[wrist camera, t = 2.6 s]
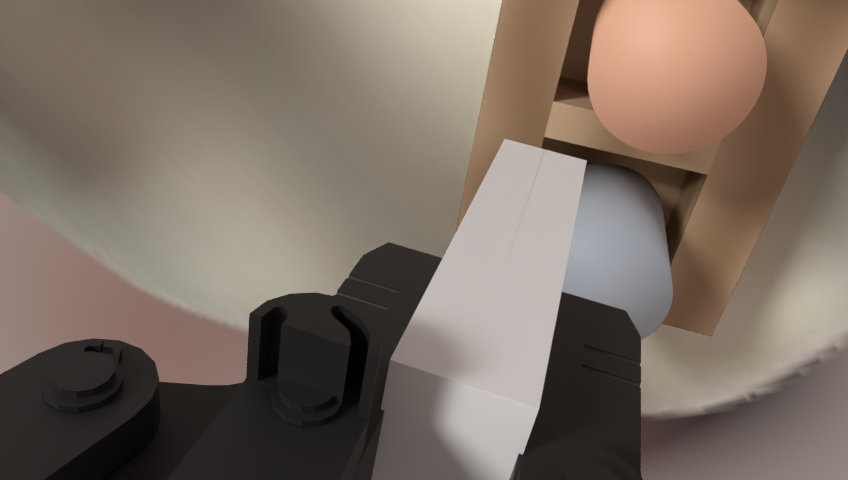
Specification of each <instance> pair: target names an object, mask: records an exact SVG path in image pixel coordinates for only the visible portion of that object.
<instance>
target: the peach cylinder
mask: <svg viewBox="0 0 848 480" xmlns="http://www.w3.org/2000/svg"><path fill="white" fill-rule="evenodd" d="M766 71H767V54H766V47H765V43H764V39H763V36H762V34H761V31H760V29H759V27H758V25H757V24H756V22H755V21H754V19H753V18H752V16H751V15H750V14H749V13H748V12H747V10H746V9H745V8H744V7H743V6H742V4H741V3H740V2H739V1H738V0H603V1H602V3H601V5H600V7H599V9H598V12H597V15H596V19H595V23H594V29H593V37H592V44H591V51H590V59H589V66H588V78H587V80H588V91H589V96H590V100H591V103H592V106H593V109H594V111H595V113H596V115H597V116H598V118H599V120H600V121H601V122H602V124H603V125H604V126H605V127H606V129H607V130H608V131H609V132H610V133H611V134H613V135H614V136H615V137H616V138H618V139H619V140H620V141H622V142H624V143H625V144H627V145H629V146H631V147H634V148H636V149H639V150H642V151H645V152H650V153H656V154H681V153H686V152H692V151H695V150H698V149H701V148H704V147H706V146H709V145H711V144H713V143H715V142H717V141H718V140H720V139H722V138H724V137H725V136H726V135H728V134H729V133H730V132H732V131H733V130H734V129H735V128H736V127H737V126H738V125H740V124H741V123H742V121H743V120H744V119H745V118H746V117H747V116H748V114H749V113H750V111H751V110H752V108H753V107H754V105H755V104H756V102H757V100H758V98H759V96H760V94H761V91H762V88H763V85H764V82H765V77H766Z"/></svg>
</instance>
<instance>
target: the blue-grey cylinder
mask: <svg viewBox="0 0 848 480" xmlns="http://www.w3.org/2000/svg"><path fill="white" fill-rule="evenodd" d="M562 292H565V293H569V294H572V295H575V296H579V297H582V298H585V299H589V300H592V301H595V302H599V303H602V304H605V305H609V306H612V307H615V308H619V309H622V310H625V311H627V313H628V315H629V317H630V318H631V320H632V322H633V324H634V325H635V327H636V329H637V331H638V332H639V334H640V336H641V340H642V339H643V338H645V337H647V336H648V335H650V334H651V333H652V332H653V331H655V330H656V329H657V328H658V327H659V326H660V325H661V323H662V322H663V320H664V319H665V318H666V316H667V314H668V312H669V310H670V307H671V304H672V298H673V284H672V276H671V269H670V261H669V253H668V245H667V238H666V230H665V222H664V215H663V208H662V203H661V200H660V197H659V195H658V193H657V191H656V190H655V188H654V187H653V185H652V184H651V183H650V182H649V181H648V180H647V179H646V178H645V177H643V176H642V175H641V174H639V173H638V172H636V171H634V170H632V169H630V168H628V167H625V166H621V165H617V164H612V163H595V164H589V165H586V168H585V173H584V178H583V183H582V189H581V194H580V199H579V204H578V209H577V215H576V220H575V225H574V230H573V235H572V241H571V246H570V251H569V256H568V261H567V267H566V272H565V277H564V282H563V287H562Z"/></svg>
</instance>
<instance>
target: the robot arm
mask: <svg viewBox="0 0 848 480" xmlns="http://www.w3.org/2000/svg"><path fill="white" fill-rule="evenodd" d="M586 163H587V161H586V160H583V159H579V158H575V157H571V156H568V155H564V154H560V153H556V152H553V151H549V150H545V149H542V148H538V147H534V146H530V145H527V144H523V143H519V142H515V141H512V140H508V139H504V141H503V143H502V145H501V147H500V149H499V151H498V153H497V154H496V156H495V158H494V160H493V162H492V164H491V166H490V168H489V170H488V172H487V174H486V176H485V178H484V180H483V181H482V183H481V185H480V187H479V189H478V191H477V193H476V195H475V197H474V199H473V201H472V203H471V205H470V206H469V208H468V210H467V212H466V214H465V216H464V218H463V220H462V222H461V224H460V226H459V228H458V230H457V232H456V233H455V235H454V237H453V239H452V241H451V243H450V245H449V247H448V249H447V251H446V253H445V255H444V257H443V258H440V257H436V256H433V255H430V254H426V253H423V252H419V251H416V250H413V249H409V248H406V247H403V246H399V245H396V244H393V243H389V242H388V243H386V244H384V245H382V246H380V247H378V248H376V249H374V250H372V251H370V252H368V253H366V254H364V255H363V256H362V258H361V259H360V261H359V262H358V263H357V265H356V266H355V267H354V269H353V270H352V272H351V273H350V274H349V278H346V280H345V281H344V282H343V284H342V285H341V287H340V288H339V289H338V291H337V294H336V295H334V296H330V295H325V294H320V293H298V294H288V295H285V296H281V297H278V298H275V299H272V300H269V301H266V302H265V303H263V304H262V305H261V306H259V307H258V308H257V309H255V310H254V311H253V312H251V313H250V317H249V337H248V357H247V358H248V359H247V378H246V379H245V381H244V382H243V383H239V384H233V385H218V386H217V385H213V386H212V385H195V384H180V383H167V382H159V377H158V374H157V369H156V365H155V362H154V361H153V360H152V359H151V358H150V357H149V356H148V355H147V354H146V353H145V352H144V351H143V350H142V349H140V348H138V347H135V346H132V345H130V344H127V343H124V342H122V341H118V340H106V339H87V340H81V341H74V342H68V343H64V344H61V345H59V346H56V347H54V348H51V349H49V350H46V351H44V352H41V353H39V354H37V355H35V356H33V357H31V358H30V359H28V360H26V361H24V362H22V363H20V364H19V365H17V366H15V367H13V368H11V369H9V370H8V371H6V372H4V373H2V374H0V480H643V479H642V478H641V471H640V445H641V444H640V443H641V438H640V437H641V436H640V435H641V430H640V429H641V426H640V425H641V420H640V419H641V388H639V387H640V383H641V367H640V362H641V336H640V334H639V332H638V331H637V329H636V327H635V325H634V324H633V322H632V320H631V318H630V317H629V315H628V313H627V311H625V310H622V309H619V308H615V307H612V306H609V305H605V304H602V303H599V302H595V301H592V300H589V299H585V298H582V297H579V296H575V295H572V294H569V293H565V292H562V287H563V282H564V277H565V272H566V267H567V261H568V256H569V251H570V246H571V241H572V235H573V230H574V225H575V220H576V215H577V209H578V204H579V199H580V194H581V189H582V183H583V178H584V173H585V168H586Z"/></svg>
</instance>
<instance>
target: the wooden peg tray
mask: <svg viewBox="0 0 848 480" xmlns="http://www.w3.org/2000/svg"><path fill="white" fill-rule="evenodd" d="M602 1H603V0H502V4H501V9H500V14H499V19H498V24H497V29H496V34H495V39H494V44H493V49H492V54H491V59H490V64H489V69H488V74H487V79H486V84H485V89H484V94H483V99H482V104H481V109H480V114H479V119H478V124H477V129H476V134H475V139H474V144H473V148H472V153H471V158H470V163H469V168H468V173H467V178H466V183H465V188H464V193H463V198H462V203H461V208H460V213H459V218H458V223H457V228H456V232H457V230H458V228H459V226H460V224H461V222H462V220H463V218H464V216H465V214H466V212H467V210H468V208H469V206H470V205H471V203H472V201H473V199H474V197H475V195H476V193H477V191H478V189H479V187H480V185H481V183H482V181H483V180H484V178H485V176H486V174H487V172H488V170H489V168H490V166H491V164H492V162H493V160H494V158H495V156H496V154H497V153H498V151H499V149H500V147H501V145H502V143H503V141H504V139H508V140H512V141H515V142H519V143H523V144H527V145H530V146H534V147H538V148H542V149H545V150H549V151H553V152H556V153H560V154H564V155H568V156H571V157H575V158H579V159H583V160H586V161H587V163H586V165H589V164H595V163H612V164H617V165H621V166H625V167H628V168H630V169H632V170H634V171H636V172H638V173H639V174H641V175H642V176H643V177H645V178H646V179H647V180H648V181H649V182H650V183H651V184H652V185H653V187H654V188H655V190H656V191H657V193H658V195H659V197H660V200H661V203H662V208H663V215H664V222H665V230H666V238H667V245H668V253H669V261H670V269H671V276H672V284H673V298H672V304H671V307H670V310H669V312H668V314H667V316H666V318H665V319H664V320H663V322H662V324H666V325H670V326H674V327H677V328H681V329H685V330H689V331H693V332H696V333H700V334H704V335H708V336H712V334H713V332H714V330H715V328H716V326H717V324H718V321H719V319H720V317H721V315H722V313H723V311H724V309H725V307H726V305H727V302H728V300H729V298H730V296H731V294H732V292H733V290H734V288H735V286H736V283H737V281H738V279H739V277H740V275H741V273H742V271H743V269H744V267H745V264H746V262H747V260H748V258H749V256H750V254H751V252H752V250H753V248H754V245H755V243H756V241H757V239H758V237H759V235H760V233H761V231H762V229H763V226H764V224H765V222H766V220H767V218H768V216H769V214H770V212H771V210H772V207H773V205H774V203H775V201H776V199H777V197H778V195H779V193H780V191H781V188H782V186H783V184H784V182H785V180H786V178H787V176H788V174H789V171H790V169H791V167H792V165H793V163H794V161H795V159H796V157H797V155H798V152H799V150H800V148H801V146H802V144H803V142H804V140H805V138H806V136H807V133H808V131H809V129H810V127H811V125H812V123H813V121H814V119H815V117H816V114H817V112H818V110H819V108H820V106H821V104H822V102H823V100H824V98H825V95H826V93H827V91H828V89H829V87H830V85H831V83H832V81H833V79H834V76H835V74H836V72H837V70H838V68H839V66H840V64H841V62H842V60H843V57H844V55H845V53H846V51H847V49H848V0H738V1H739V2H740V3H741V4H742V6H743V7H744V8H745V9H746V10H747V12H748V13H749V14H750V15H751V16H752V18H753V19H754V21H755V22H756V24H757V25H758V27H759V29H760V31H761V34H762V36H763V39H764V43H765V47H766V54H767V71H766V77H765V82H764V85H763V88H762V91H761V94H760V96H759V98H758V100H757V102H756V104H755V105H754V107H753V108H752V110H751V111H750V113H749V114H748V116H747V117H746V118H745V119H744V120H743V121H742V123H741V124H740V125H738V126H737V127H736V128H735V129H734V130H733V131H732V132H730V133H729V134H728V135H726V136H725V137H724V138H722V139H720V140H718V141H717V142H715V143H713V144H711V145H709V146H706V147H704V148H701V149H698V150H695V151H692V152H686V153H681V154H656V153H650V152H645V151H642V150H639V149H636V148H634V147H631V146H629V145H627V144H625V143H624V142H622V141H620V140H619V139H618V138H616V137H615V136H614V135H613V134H611V133H610V132H609V131H608V130H607V129H606V127H605V126H604V125H603V124H602V122H601V121H600V120H599V118H598V116H597V115H596V113H595V111H594V109H593V106H592V103H591V100H590V96H589V91H588V80H587V78H588V66H589V59H590V51H591V44H592V37H593V29H594V23H595V19H596V15H597V12H598V9H599V7H600V5H601V3H602Z"/></svg>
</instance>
